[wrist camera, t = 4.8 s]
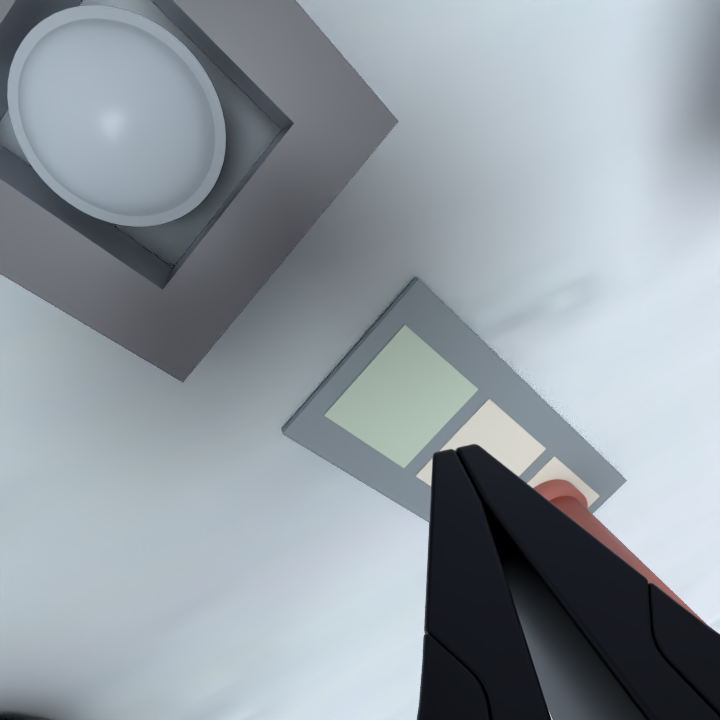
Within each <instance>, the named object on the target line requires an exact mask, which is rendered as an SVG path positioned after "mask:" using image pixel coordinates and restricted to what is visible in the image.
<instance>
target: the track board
mask: <svg viewBox="0 0 720 720" xmlns="http://www.w3.org/2000/svg"><path fill="white" fill-rule="evenodd" d="M282 434H284V435H285V436H287V437H289V438H290V439H292V440H294V441H295V442H297V443H299V444H300V445H302V446H304V447H305V448H307V449H308V450H310V451H312V452H313V453H315V454H317V455H318V456H320V457H322V458H323V459H325V460H327V461H328V462H330V463H332V464H333V465H335V466H337V467H338V468H340V469H342V470H343V471H345V472H346V473H348V474H350V475H351V476H353V477H355V478H356V479H358V480H360V481H361V482H363V483H365V484H366V485H368V486H370V487H371V488H373V489H375V490H376V491H378V492H380V493H381V494H383V495H385V496H386V497H388V498H389V499H391V500H393V501H394V502H396V503H398V504H399V505H401V506H403V507H404V508H406V509H408V510H409V511H411V512H413V513H414V514H416V515H418V516H419V517H421V518H423V519H424V520H426V521H427V522H429V520H430V500H431V479H432V458H433V454H434V453H435V452H439V451H443V450H448V449H453V450H456V448H458V447H462V446H466V445H471V444H477V445H479V446H480V447H482V448H483V449H484V450H486V451H487V452H488V453H489V454H491V455H492V456H493V457H494V458H496V459H497V460H498V461H499V462H501V463H502V464H503V465H504V466H506V467H507V468H508V469H510V470H511V471H512V472H513V473H515V474H516V475H517V476H518V477H520V478H521V479H522V480H523V481H525V482H526V483H527V484H528V485H530V486H531V487H532V488H534V487H536V486H537V485H539V484H541V483H543V482H546V481H549V480H554V479H562V480H566V481H568V482H570V483H571V484H573V485H574V486H575V487H576V488H577V489H578V490H579V491H580V492H581V493H582V494H583V495H584V496H585V498H586V500H587V503H588V511H589V512H590V513H592V514H593V513H594V512H595V511H596V510H597V509H598V508H599V507H600V506H601V505H602V504H603V503H604V502H605V501H606V500H607V499H608V498H609V497H610V496H611V495H613V494H614V493H615V492H616V491H617V490H618V489H619V488H620V487H621V486H622V485H623V484H624V483H625V482H626V481H627V480H626V479H625V478H624V477H623V476H622V475H621V474H620V473H618V472H617V471H616V470H615V469H614V468H613V467H612V466H611V465H610V464H609V463H608V462H607V461H606V460H605V459H604V458H603V457H602V456H601V455H600V454H599V453H598V452H597V451H596V450H595V449H594V448H593V447H592V446H591V445H590V444H589V443H587V442H586V441H585V440H584V439H583V438H582V437H581V436H580V435H579V434H578V433H577V432H576V431H575V430H574V429H573V428H572V427H571V426H570V425H569V424H568V423H567V422H566V421H565V420H564V419H563V418H562V417H561V416H560V415H559V414H558V413H557V412H555V411H554V410H553V409H552V408H551V407H550V406H549V405H548V404H547V403H546V402H545V401H544V400H543V399H542V398H541V397H540V396H539V395H538V394H537V393H536V392H535V391H534V390H533V389H532V388H531V387H530V386H529V385H528V384H527V383H526V382H524V381H523V380H522V379H521V378H520V377H519V376H518V375H517V374H516V373H515V372H514V371H513V370H512V369H511V368H510V367H509V366H508V365H507V364H506V363H505V362H504V361H503V360H502V359H501V358H500V357H499V356H498V355H497V354H496V353H495V352H494V351H492V350H491V349H490V348H489V347H488V346H487V345H486V344H485V343H484V342H483V341H482V340H481V339H480V338H479V337H478V336H477V335H476V334H475V333H474V332H473V331H472V330H471V329H470V328H469V327H468V326H467V325H466V324H465V323H464V322H463V321H461V320H460V319H459V318H458V317H457V316H456V315H455V314H454V313H453V312H452V311H451V310H450V309H449V308H448V307H447V306H446V305H445V304H444V303H443V302H442V301H441V300H440V299H439V298H438V297H437V296H436V295H435V294H434V293H433V292H432V291H431V290H429V289H428V288H427V287H426V286H425V285H424V284H423V283H422V282H421V281H420V280H419V279H418V278H416V277H415V279H414V280H413V281H412V282H411V283H410V284H409V285H408V287H407V288H406V289H405V290H404V291H403V292H402V293H401V295H400V296H399V297H398V298H397V299H396V300H395V301H394V302H393V304H392V305H391V306H390V307H389V308H388V309H387V310H386V312H385V313H384V314H383V315H382V316H381V317H380V318H379V320H378V321H377V322H376V323H375V324H374V325H373V326H372V327H371V329H370V330H369V331H368V332H367V333H366V334H365V335H364V337H363V338H362V339H361V340H360V341H359V342H358V343H357V345H356V346H355V347H354V348H353V349H352V350H351V351H350V352H349V354H348V355H347V356H346V357H345V358H344V359H343V360H342V362H341V363H340V364H339V365H338V366H337V367H336V368H335V370H334V371H333V372H332V373H331V374H330V375H329V376H328V377H327V379H326V380H325V381H324V382H323V383H322V384H321V385H320V387H319V388H318V389H317V390H316V391H315V392H314V393H313V395H312V396H311V397H310V398H309V399H308V400H307V401H306V402H305V404H304V405H303V406H302V407H301V408H300V409H299V410H298V412H297V413H296V414H295V415H294V416H293V417H292V418H291V420H290V421H289V422H288V423H287V424H286V425H285V426H284V427H283V429H282Z"/></svg>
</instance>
